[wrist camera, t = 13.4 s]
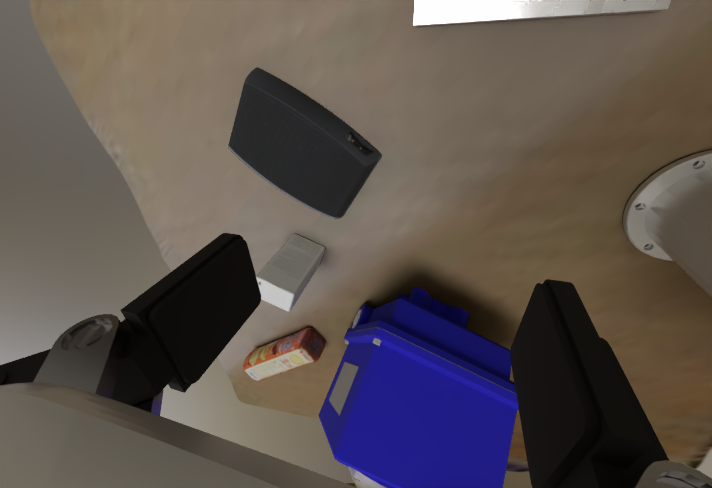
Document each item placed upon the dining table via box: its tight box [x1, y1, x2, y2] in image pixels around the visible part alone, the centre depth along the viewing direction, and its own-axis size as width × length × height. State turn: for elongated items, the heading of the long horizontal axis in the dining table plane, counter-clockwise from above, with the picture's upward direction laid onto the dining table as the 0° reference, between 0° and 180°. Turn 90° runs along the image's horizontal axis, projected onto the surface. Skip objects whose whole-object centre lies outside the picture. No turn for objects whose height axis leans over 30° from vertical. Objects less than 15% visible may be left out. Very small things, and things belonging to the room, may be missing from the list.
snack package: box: [244, 328, 325, 381], centre depth 65 cm, size 21×7×7 cm, turn 130°
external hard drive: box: [228, 68, 382, 219], centre depth 39 cm, size 13×19×4 cm
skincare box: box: [256, 234, 325, 312], centre depth 45 cm, size 6×4×12 cm
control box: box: [319, 288, 519, 488], centre depth 42 cm, size 26×27×30 cm
